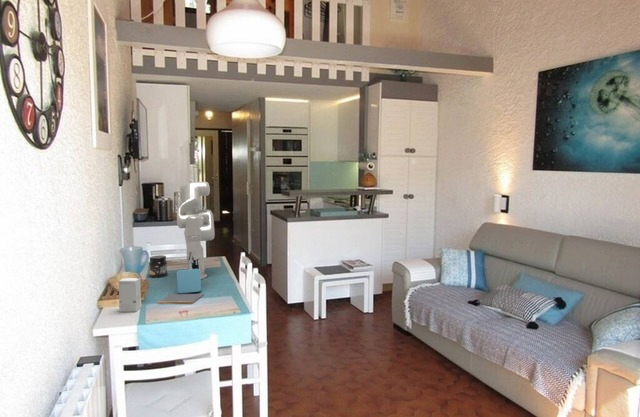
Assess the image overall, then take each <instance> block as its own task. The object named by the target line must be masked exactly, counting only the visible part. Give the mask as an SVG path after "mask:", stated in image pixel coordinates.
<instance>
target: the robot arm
mask: <svg viewBox="0 0 640 417" xmlns="http://www.w3.org/2000/svg"><path fill="white" fill-rule="evenodd" d="M179 190H180V196H181V198H182V200H183V201H182V202H183V203H181V204H180V205H179V207H178V209H177V212H176V224H177V227H178V228H179V229H183V230H184V231H183V232H184V233H183V235H184V240H185V246H186V260H187V264H186V265H187V270H189V269H199V270H200V275H201V280H204V279H207V278H208V274H207V273H205V271H206V268H205V261H204V260H205V259H204V258H205V256H204V248H203V246H202V244H201V243H202V242H207V241H212V240H214V239H215V221H214V214H213V212H212V210H211V209H201V205H200V204H201V198H200V197H201V196H202V197H203V196H204V197H206V196H209V195H210V193H211V186H210V184H209V182H207V181H190V182H184V183H182V184H181V185H180V188H179Z"/></svg>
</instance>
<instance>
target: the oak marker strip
mask: <svg viewBox="0 0 640 417" xmlns="http://www.w3.org/2000/svg"><path fill="white" fill-rule="evenodd" d="M156 304H157V305H158V304H159V305H161V304H162V305H193V304H194V303H193V301H160V300H158V301H157V302H156Z"/></svg>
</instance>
